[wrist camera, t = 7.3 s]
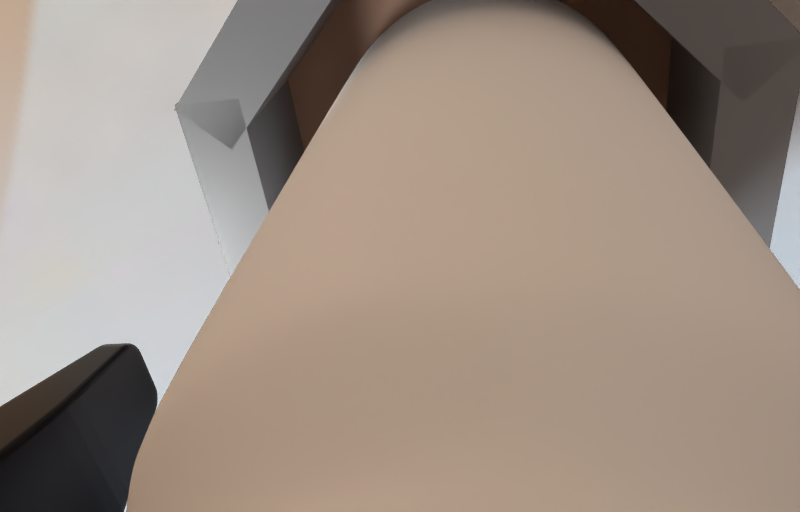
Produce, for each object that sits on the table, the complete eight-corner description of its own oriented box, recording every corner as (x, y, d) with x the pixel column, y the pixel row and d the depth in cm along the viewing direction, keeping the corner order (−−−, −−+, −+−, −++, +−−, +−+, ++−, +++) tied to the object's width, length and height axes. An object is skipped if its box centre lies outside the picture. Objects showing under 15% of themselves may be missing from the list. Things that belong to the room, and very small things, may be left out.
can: (301, 28, 13) (-244, 551, 3) (621, -59, 12) (1435, 386, 2) (386, 280, 17) (241, 948, 6) (648, 235, 15) (1000, 1006, 5)
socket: (844, 84, 14) (963, 156, 10) (496, 373, 19) (500, 483, 16) (443, -321, 11) (429, -401, 8) (164, 148, 16) (83, 224, 13)
